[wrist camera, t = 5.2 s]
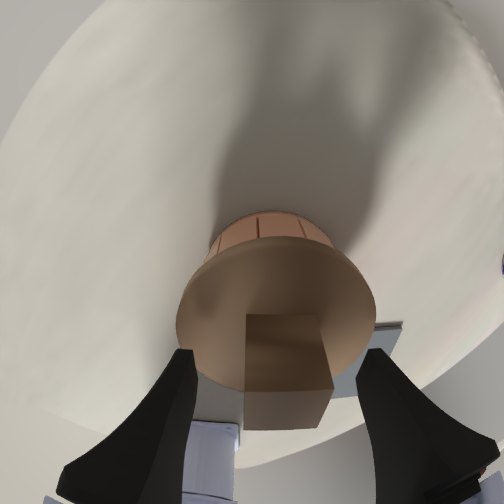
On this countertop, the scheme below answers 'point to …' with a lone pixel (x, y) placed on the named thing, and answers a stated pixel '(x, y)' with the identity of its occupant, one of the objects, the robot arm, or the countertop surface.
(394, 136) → the countertop surface
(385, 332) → the mat
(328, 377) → the lid
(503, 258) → the energy drink
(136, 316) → the countertop surface
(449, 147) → the countertop surface
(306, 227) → the bowl
